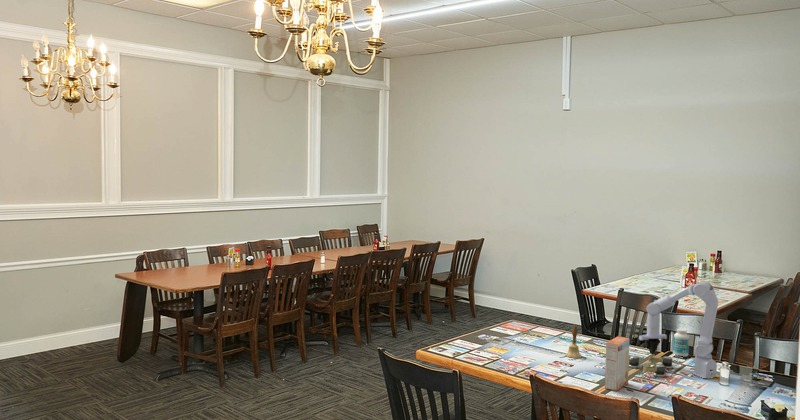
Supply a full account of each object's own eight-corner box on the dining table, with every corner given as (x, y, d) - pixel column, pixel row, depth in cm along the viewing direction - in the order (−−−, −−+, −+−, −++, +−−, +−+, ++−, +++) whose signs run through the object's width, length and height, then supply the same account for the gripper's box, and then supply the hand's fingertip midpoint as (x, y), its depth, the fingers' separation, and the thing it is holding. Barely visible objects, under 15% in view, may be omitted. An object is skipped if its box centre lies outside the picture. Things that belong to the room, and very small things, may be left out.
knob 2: (671, 363, 316) (671, 356, 315) (673, 366, 311) (673, 358, 311) (647, 361, 318) (648, 354, 317) (649, 364, 313) (650, 357, 313)
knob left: (660, 370, 304) (660, 363, 303) (666, 374, 299) (667, 366, 299) (640, 372, 301) (641, 364, 301) (647, 375, 296) (647, 367, 296)
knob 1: (639, 363, 315) (639, 355, 315) (638, 366, 311) (638, 358, 310) (616, 360, 319) (616, 352, 319) (615, 362, 315) (615, 355, 315)
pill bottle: (672, 355, 334) (673, 330, 333) (673, 352, 340) (674, 327, 339) (687, 358, 330) (689, 332, 329) (688, 354, 337) (690, 329, 336)
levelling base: (690, 375, 302) (690, 370, 302) (651, 378, 297) (651, 373, 296) (662, 362, 321) (662, 358, 321) (625, 365, 316) (625, 360, 316)
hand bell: (580, 354, 334) (581, 323, 333) (583, 358, 325) (584, 327, 324) (564, 353, 334) (565, 323, 333) (566, 358, 326) (567, 327, 325)
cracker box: (615, 380, 293) (617, 335, 291) (628, 383, 289) (630, 338, 287) (603, 388, 282) (605, 341, 280) (617, 391, 278) (619, 344, 276)
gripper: (660, 323, 322) (659, 350, 323) (635, 325, 319) (634, 352, 319) (669, 327, 316) (668, 354, 316) (644, 328, 312) (643, 356, 313)
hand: (652, 353), depth 318 cm, fingers closed
